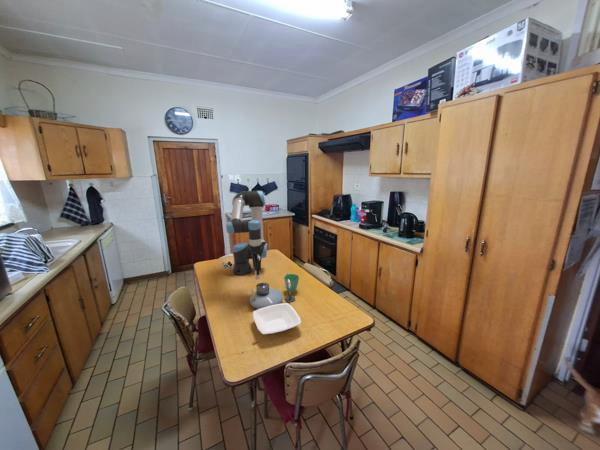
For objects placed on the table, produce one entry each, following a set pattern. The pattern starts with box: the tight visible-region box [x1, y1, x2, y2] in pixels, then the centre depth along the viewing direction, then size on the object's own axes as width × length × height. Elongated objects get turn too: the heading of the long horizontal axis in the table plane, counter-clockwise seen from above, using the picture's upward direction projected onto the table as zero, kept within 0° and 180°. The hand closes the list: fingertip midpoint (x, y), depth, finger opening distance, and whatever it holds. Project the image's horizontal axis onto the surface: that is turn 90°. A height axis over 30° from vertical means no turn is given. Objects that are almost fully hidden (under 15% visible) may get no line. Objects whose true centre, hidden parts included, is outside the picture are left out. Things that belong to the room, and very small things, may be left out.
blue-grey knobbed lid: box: [249, 287, 283, 310], centre depth 149 cm, size 20×20×10 cm
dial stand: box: [284, 279, 296, 304], centre depth 151 cm, size 5×5×14 cm
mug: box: [283, 272, 300, 293], centre depth 165 cm, size 15×10×10 cm
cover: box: [255, 282, 270, 296], centre depth 153 cm, size 8×8×5 cm
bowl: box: [252, 302, 302, 335], centre depth 128 cm, size 22×23×6 cm
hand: (257, 278), depth 160 cm, fingers closed
